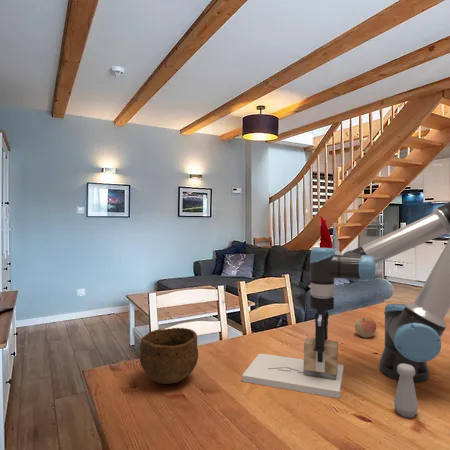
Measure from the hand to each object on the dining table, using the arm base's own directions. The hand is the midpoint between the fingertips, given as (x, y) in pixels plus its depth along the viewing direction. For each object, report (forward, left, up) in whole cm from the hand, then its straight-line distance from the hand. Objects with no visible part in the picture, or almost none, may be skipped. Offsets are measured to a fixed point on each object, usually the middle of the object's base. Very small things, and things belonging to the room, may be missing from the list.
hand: (321, 366), depth 113 cm
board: (+9, 0, -4) cm, 10 cm away
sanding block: (0, 0, -2) cm, 2 cm away
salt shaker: (-23, +12, -5) cm, 27 cm away
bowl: (+46, +18, -5) cm, 49 cm away
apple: (-13, -51, -5) cm, 53 cm away
